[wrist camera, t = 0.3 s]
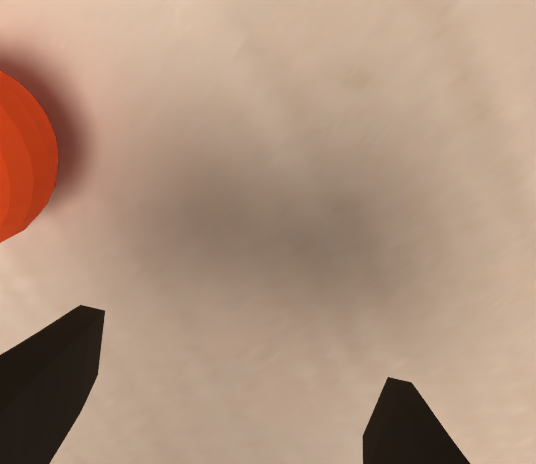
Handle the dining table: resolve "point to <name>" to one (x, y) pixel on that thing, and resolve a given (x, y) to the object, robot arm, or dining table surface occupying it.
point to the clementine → (24, 157)
